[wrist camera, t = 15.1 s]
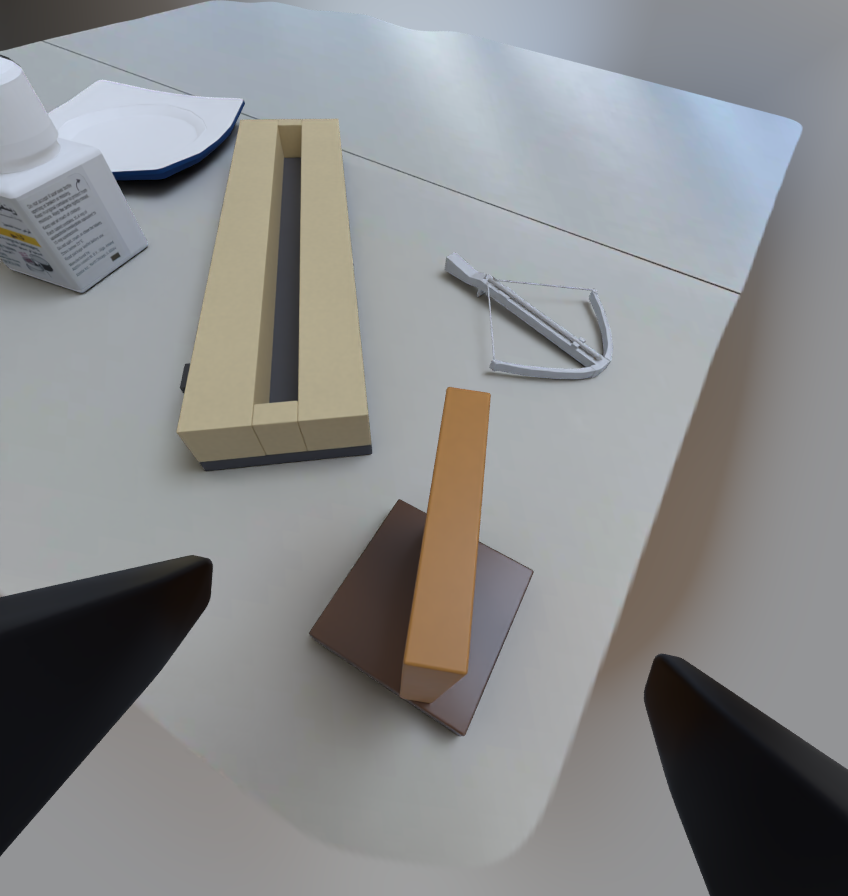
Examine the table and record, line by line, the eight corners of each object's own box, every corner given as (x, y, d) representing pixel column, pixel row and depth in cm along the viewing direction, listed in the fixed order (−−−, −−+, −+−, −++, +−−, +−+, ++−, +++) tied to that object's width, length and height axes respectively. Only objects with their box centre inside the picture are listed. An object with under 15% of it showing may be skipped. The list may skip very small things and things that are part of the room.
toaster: (372, 454, 27) (368, 414, 23) (191, 472, 25) (159, 433, 22) (342, 160, 48) (338, 118, 45) (243, 162, 47) (232, 119, 44)
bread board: (460, 736, 19) (464, 737, 18) (313, 639, 21) (307, 633, 19) (527, 579, 23) (534, 570, 22) (399, 509, 25) (398, 498, 23)
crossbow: (640, 341, 35) (654, 321, 33) (545, 423, 30) (556, 405, 28) (496, 243, 40) (501, 222, 38) (394, 298, 35) (395, 277, 33)
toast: (431, 703, 18) (467, 675, 9) (399, 698, 18) (402, 663, 9) (452, 529, 23) (491, 392, 13) (426, 525, 23) (447, 385, 13)
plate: (176, 205, 42) (163, 175, 40) (-12, 175, 43) (-34, 145, 41) (261, 123, 53) (255, 97, 51) (110, 102, 55) (97, 75, 52)
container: (8, 270, 35) (-166, 65, 24) (82, 225, 39) (-39, 31, 28) (82, 295, 34) (-67, 90, 23) (151, 245, 38) (52, 51, 27)
